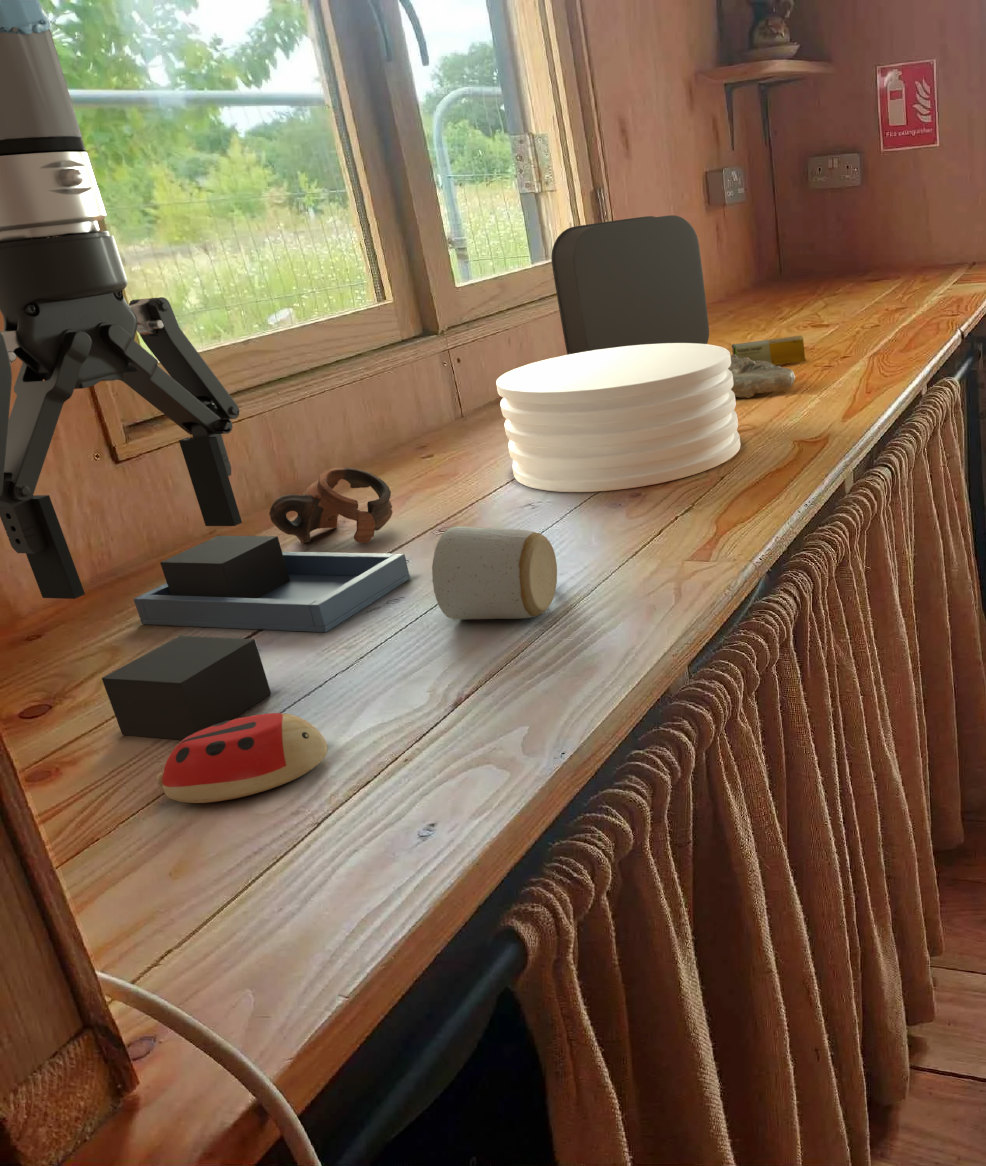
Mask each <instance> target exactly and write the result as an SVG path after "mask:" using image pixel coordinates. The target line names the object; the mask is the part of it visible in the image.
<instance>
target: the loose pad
mask: <svg viewBox="0 0 986 1166" xmlns="http://www.w3.org/2000/svg"><path fill="white" fill-rule="evenodd" d="M266 675H267V674H266V672H265V669H264V665H263V661H262V658H261V655H260V652H259V648H258V645H257V642H256V639H255V638H242V637H241V638H238V637H221V636H219V637H217V636H197V635H178V636H177V637H175V638H173V639H170V640H169V641H167V642H165V643H163V644H161V645H160V646H158V647H155V648H154V649H153V650H151V651H149V652H147V653H145V654H143V655H141V656H139V657H138V658H136V659H134V660H132V661H130V662H129V663H126V664H124V665H123V666H121V667H119V668H118V669H116V670H114V671H112V672H110V673H109V674H106V675H105V676H103V677H101V681H102V684H103V686H104V688H105V691H106V694H107V697H108V699H109V703H110V705H111V708H112V711H113V713H114V716H115V719H116V722H117V725H118V727H119V730H120V733H121V735H122V736H132V737H133V736H134V737H144V738H154V739H155V738H157V739H168V740H177V741H178V740H179V741H182V740H183V739H185V738H186V737H187V736H189V735H192V734H194V733H196V732H198V731H200V730H203V729H205V728H208V727H210V726H212V725H215V724H219V723H222V722H224V721H230V720H234V719H237V717H239V716H240V715H242V714H243V713H245V712H247V711H248V710H249V709H251V708H253V706H255V705H257V704H259V702H261V701H263V700H264V699H266V698H267V697H269V696H271V695H272V692H271V688H270V684H269V682H268V679H267V676H266Z"/></svg>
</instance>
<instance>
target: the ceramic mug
mask: <svg viewBox="0 0 986 1166" xmlns="http://www.w3.org/2000/svg"><path fill="white" fill-rule="evenodd" d="M436 543H437V544H436V546H435V549H434V552H433V558H432V565H431V572H432V573H431V574H432V576H431V577H432V586H433V587H432V588H433V593H434V596H435V600H436V602H437V605H438V607H439V609H440V611H441V612H442V613H443V615H444V616H446V617H447V618H449V619H451V620H499V619H501V620H503V619H507V620H515V619H516V620H517V619H529V618H535V617H538V616H541V615H542V614H544V613H545V612H547V610H548V609H549V607H550V606H551V604H552V603H553V600H554V598H555V594H556V589H557V582H558V564H557V557H556V552H555V549H554V547H553V546H552V543H551V541H550V540H549V539H548V538H547V537H546V536H545V535H543V534H542V533H539V532H535V531H532V530H528V529H518V528H494V527H493V528H492V527H477V526H475V527H474V526H461V525H454V526H451V527H449V528H447V529H445V531H444V532H443V533H442V535H441V536H440V538H439V539H438V541H437V542H436Z"/></svg>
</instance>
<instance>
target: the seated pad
mask: <svg viewBox="0 0 986 1166" xmlns="http://www.w3.org/2000/svg"><path fill="white" fill-rule="evenodd" d="M282 552H283V551H282V547H281V543H280V539H279V536H277V535H217V536H214V537H212V538H210V539H208V540H206V541H204V542H201V543H199V544H197V545H194V546H193V547H190V548H188V549H186V550H183V551H181V552H180V553H177V554H175V555H172V556H171V557H168V558H167V559H164V560H162V561H160V562H159V563H160V566H161V569H162V573H163V575H164V578H165V581H166V582H165V583H167V585H168V588H169V591H170V594H171V595H173V596H203V597H232V598H260V597H262V596H264V595H266V594H267V593H269V592H271V591H273V590H275V589H276V588H278V587H280V586H282V585H284V584H285V583H287V582H289V581H290V578H289V575H288V571H287V568H286V564H285V560H284V557H283V553H282Z"/></svg>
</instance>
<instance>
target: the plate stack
mask: <svg viewBox="0 0 986 1166" xmlns="http://www.w3.org/2000/svg"><path fill="white" fill-rule="evenodd" d="M730 355H731V351H730V350H729V349H727V348H726V347H724V346H721V345H716V344H709V343H707V344H698V343H662V344H645V345H633V346H623V347H615V348H607V349H599V350H593V351H586V352H581V353H575V354H570V355H567V354H565V355H560V356H556V357H551V358H547V359H543V360H539V361H535V362H531V363H528V364H525V365H522V366H519V367H517V368H516V367H515V368H513V369H511V370H509V371H507V372H505V373H503V374H501V375H500V376H499V377H498V378H497V379H496V381H495V384H496V391H497V394H498V395H499V397H501V398H502V399H501V400H500V402H499V405H500V411H501V415H502V417H503V418H504V419H505V421H504V424H503V425H504V431H505V436H506V437H507V439H508V440H509V441H508V443H507V444H508V452H509V456H510V458H511V460H512V465H511V468H512V473H513V477H514V479H515V480H516V481H517V482H518V483H519V484H521V485H522V486H525V487H528V488H531V489H536V490H541V491H549V492H559V493H560V492H561V493H590V492H591V493H593V492H608V491H619V490H626V489H634V488H635V489H636V488H640V487H646V486H652V485H659V484H663V483H668V482H672V481H676V480H681V479H684V478H687V477H692V476H694V475H697V474H700V473H703V472H706V471H708V470H711V469H713V468H715V467H718V466H720V465H722V464H724V463H725V462H728V461H729V460H731V459H732V458H733V457H735V456H736V455H737V453H738V452H739V451H740V449H741V436H740V432H738V428H739V421H738V419H739V418H738V413H737V412H736V411H735V409H736V407H737V403H736V397H735V394H734V392H733V391H732V390H731V389H732V387H733V375H732V372H731V371H730V370H729V369H728V368H729V367H730V365H731V357H730Z"/></svg>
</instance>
